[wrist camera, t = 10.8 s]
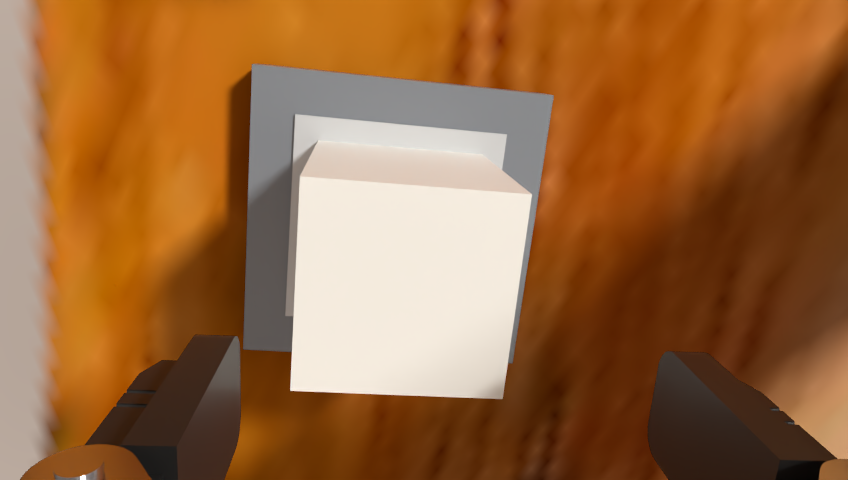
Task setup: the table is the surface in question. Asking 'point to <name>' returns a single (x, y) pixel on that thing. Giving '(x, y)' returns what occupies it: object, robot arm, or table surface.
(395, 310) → the cream brick
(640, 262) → the table surface
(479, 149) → the baseplate
